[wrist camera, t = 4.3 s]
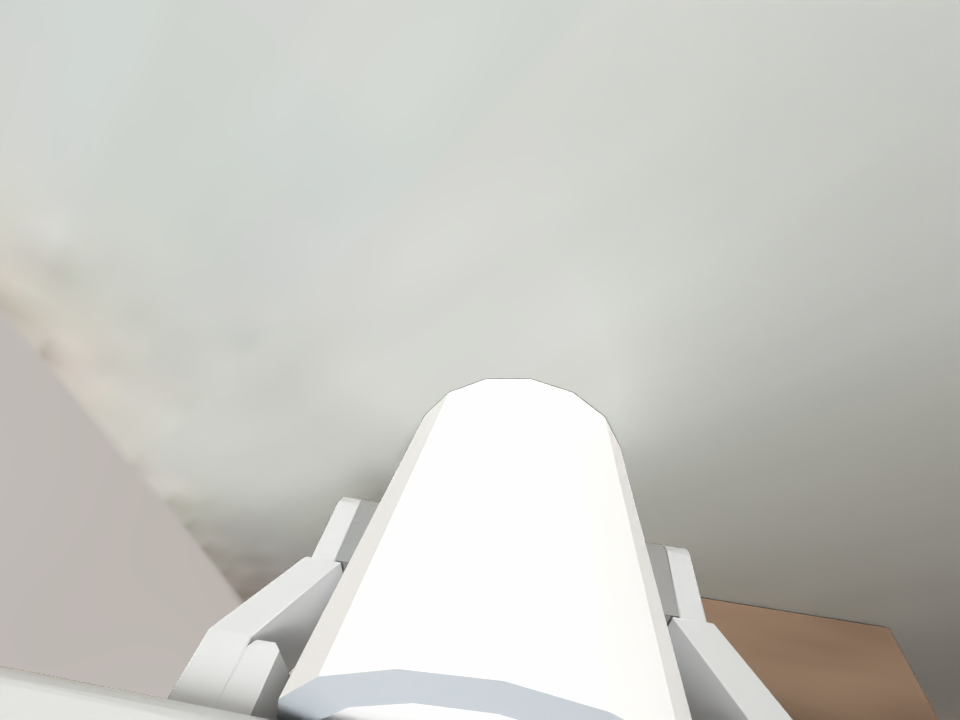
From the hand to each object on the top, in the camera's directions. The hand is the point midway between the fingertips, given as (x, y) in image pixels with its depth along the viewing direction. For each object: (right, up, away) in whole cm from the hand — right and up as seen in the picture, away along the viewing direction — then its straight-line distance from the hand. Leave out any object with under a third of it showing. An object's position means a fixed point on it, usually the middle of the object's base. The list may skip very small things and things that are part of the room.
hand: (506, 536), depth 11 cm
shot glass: (0, +1, +2) cm, 3 cm away
